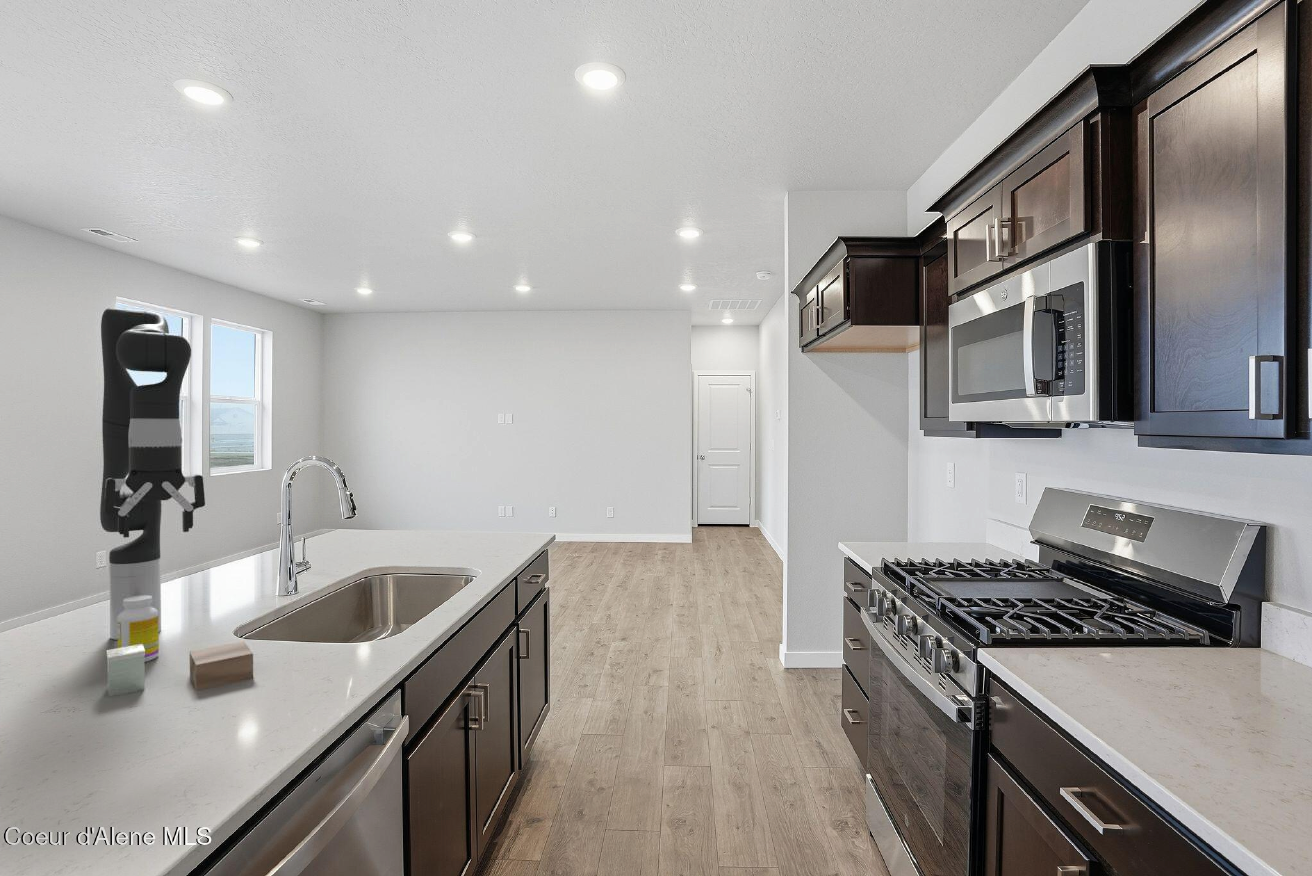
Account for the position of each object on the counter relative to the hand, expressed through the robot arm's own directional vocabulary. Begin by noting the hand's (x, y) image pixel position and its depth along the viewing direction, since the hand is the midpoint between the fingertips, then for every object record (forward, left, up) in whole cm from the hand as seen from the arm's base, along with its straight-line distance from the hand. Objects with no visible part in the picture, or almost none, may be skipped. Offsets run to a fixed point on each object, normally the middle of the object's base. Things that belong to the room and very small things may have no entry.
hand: (156, 534), depth 117 cm
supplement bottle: (-24, -1, -29) cm, 38 cm away
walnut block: (-2, +10, -29) cm, 31 cm away
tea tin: (-7, -4, -29) cm, 30 cm away
